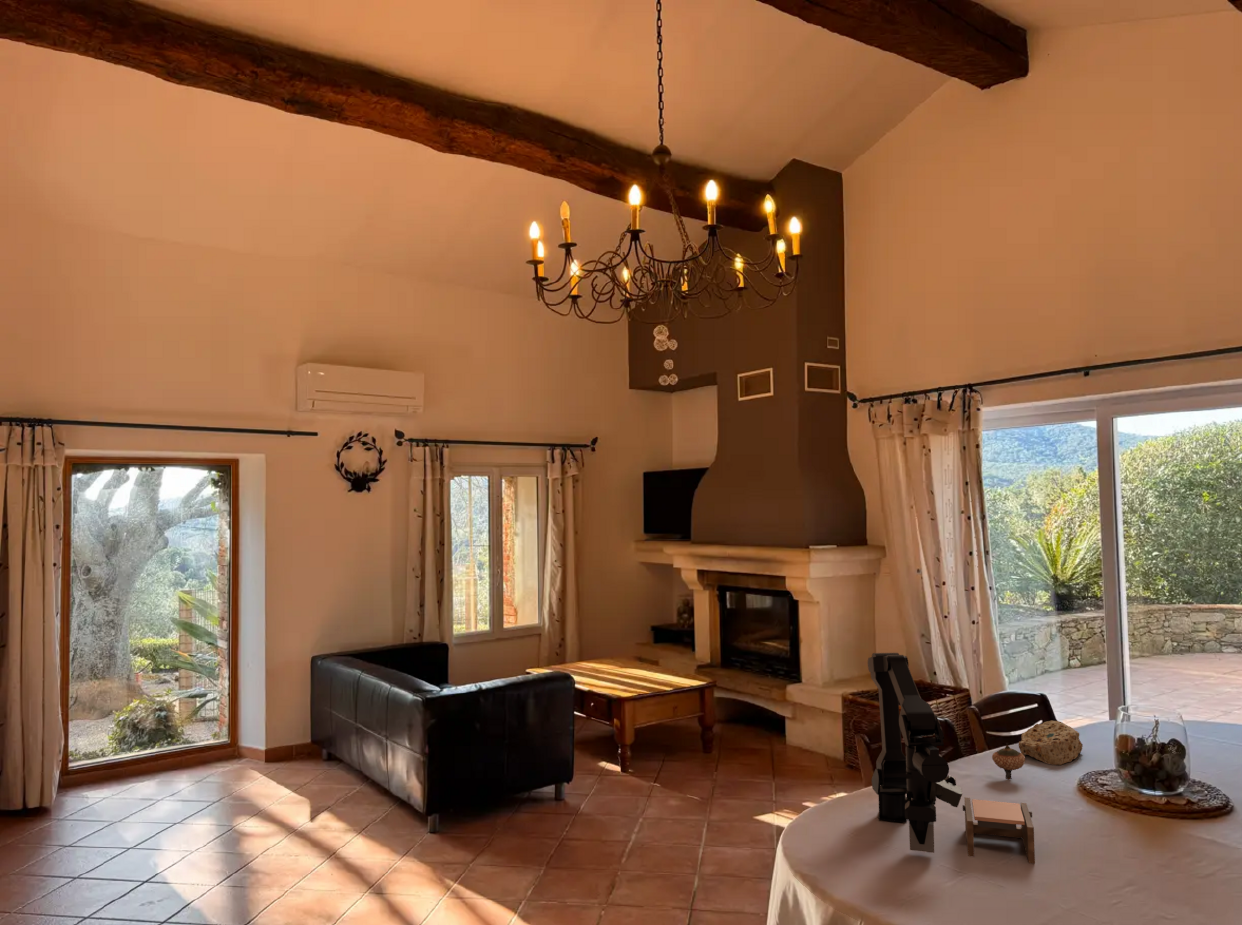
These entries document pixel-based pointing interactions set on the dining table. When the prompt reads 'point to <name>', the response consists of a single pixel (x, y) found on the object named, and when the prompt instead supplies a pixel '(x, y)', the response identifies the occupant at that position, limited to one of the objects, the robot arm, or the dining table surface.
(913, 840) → the taupe matte cube
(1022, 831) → the trapdoor frame
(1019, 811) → the trapdoor
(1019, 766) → the acorn
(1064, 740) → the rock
